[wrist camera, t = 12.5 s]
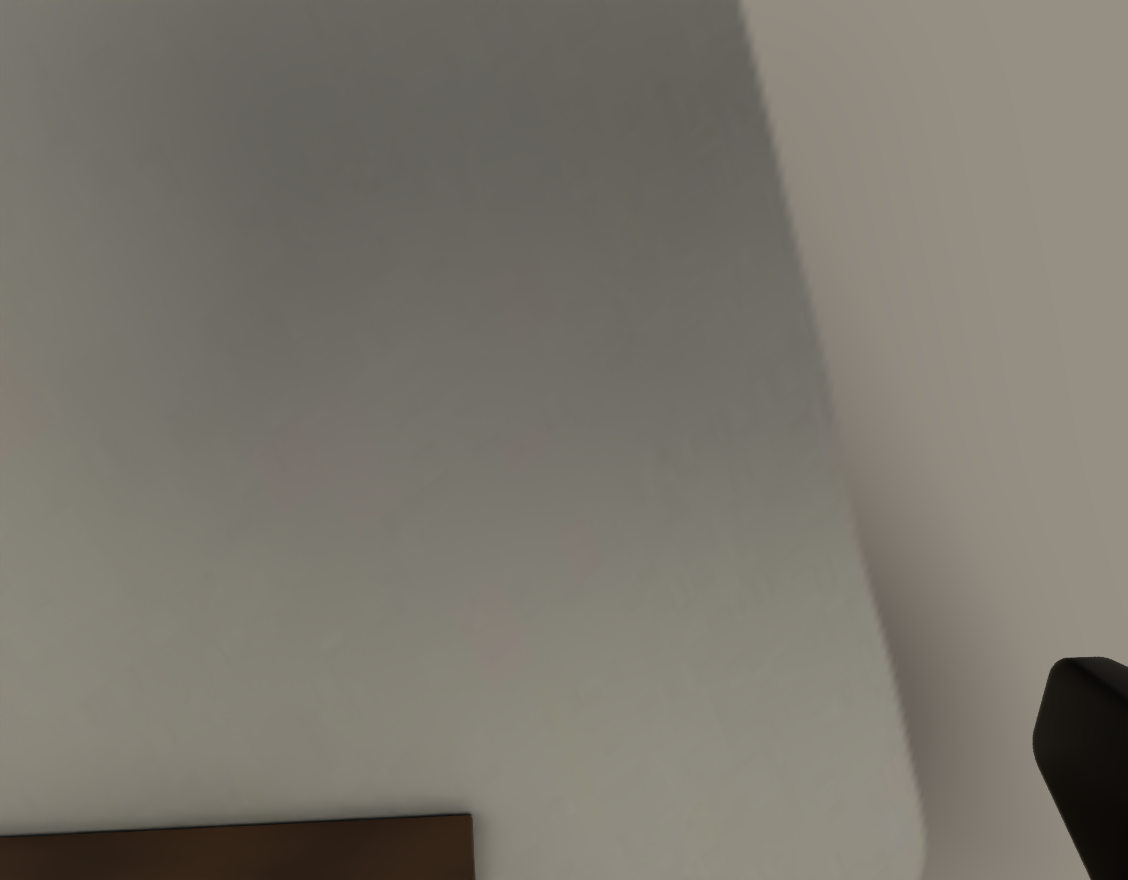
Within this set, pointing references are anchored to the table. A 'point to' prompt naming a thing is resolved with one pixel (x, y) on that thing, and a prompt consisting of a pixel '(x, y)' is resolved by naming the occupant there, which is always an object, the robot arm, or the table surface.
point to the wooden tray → (253, 852)
